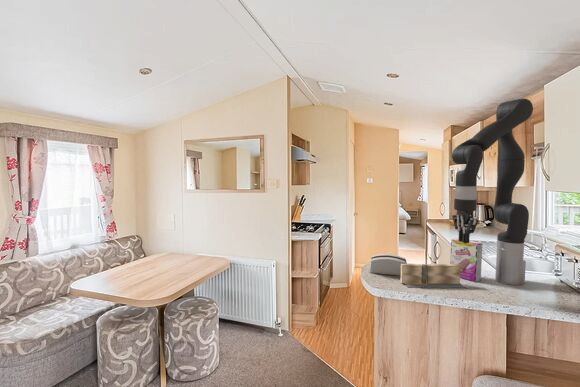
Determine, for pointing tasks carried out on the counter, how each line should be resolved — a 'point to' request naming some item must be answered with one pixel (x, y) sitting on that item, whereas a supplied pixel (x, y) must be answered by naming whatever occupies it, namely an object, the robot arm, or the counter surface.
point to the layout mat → (432, 285)
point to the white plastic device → (386, 264)
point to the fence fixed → (413, 273)
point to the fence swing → (443, 273)
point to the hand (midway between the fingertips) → (463, 242)
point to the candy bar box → (467, 258)
